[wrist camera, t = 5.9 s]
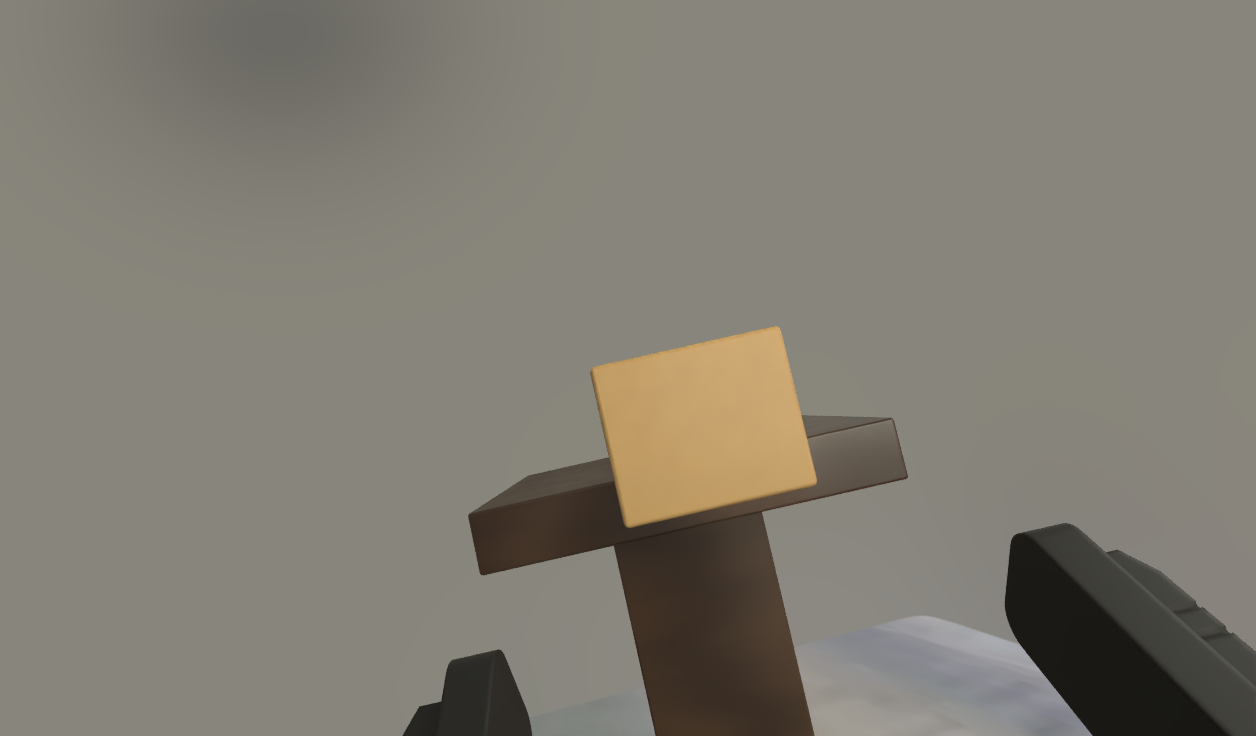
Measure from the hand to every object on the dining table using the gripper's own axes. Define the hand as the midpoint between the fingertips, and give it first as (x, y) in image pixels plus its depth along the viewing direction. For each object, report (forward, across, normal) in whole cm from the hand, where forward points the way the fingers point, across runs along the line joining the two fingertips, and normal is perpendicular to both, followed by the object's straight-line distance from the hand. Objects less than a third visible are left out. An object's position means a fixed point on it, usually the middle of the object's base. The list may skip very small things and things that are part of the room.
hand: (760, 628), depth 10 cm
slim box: (+12, 0, +5) cm, 14 cm away
